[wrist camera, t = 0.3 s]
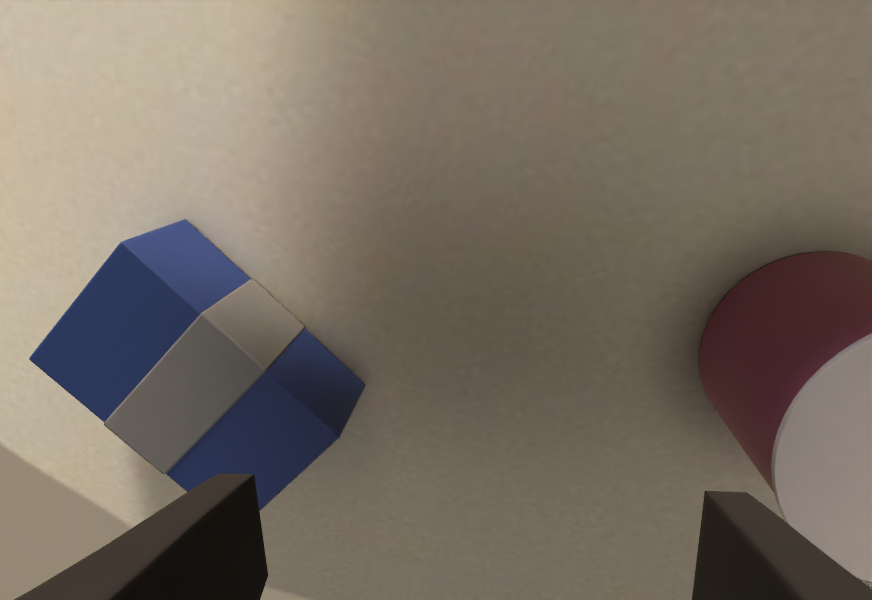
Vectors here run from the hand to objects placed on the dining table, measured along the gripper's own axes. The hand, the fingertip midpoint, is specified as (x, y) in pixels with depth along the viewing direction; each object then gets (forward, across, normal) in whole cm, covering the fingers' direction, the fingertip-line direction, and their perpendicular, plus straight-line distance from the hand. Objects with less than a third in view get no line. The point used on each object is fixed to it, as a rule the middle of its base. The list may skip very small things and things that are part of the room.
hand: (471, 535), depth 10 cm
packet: (+10, +9, +1) cm, 14 cm away
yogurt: (+10, -10, +1) cm, 14 cm away
